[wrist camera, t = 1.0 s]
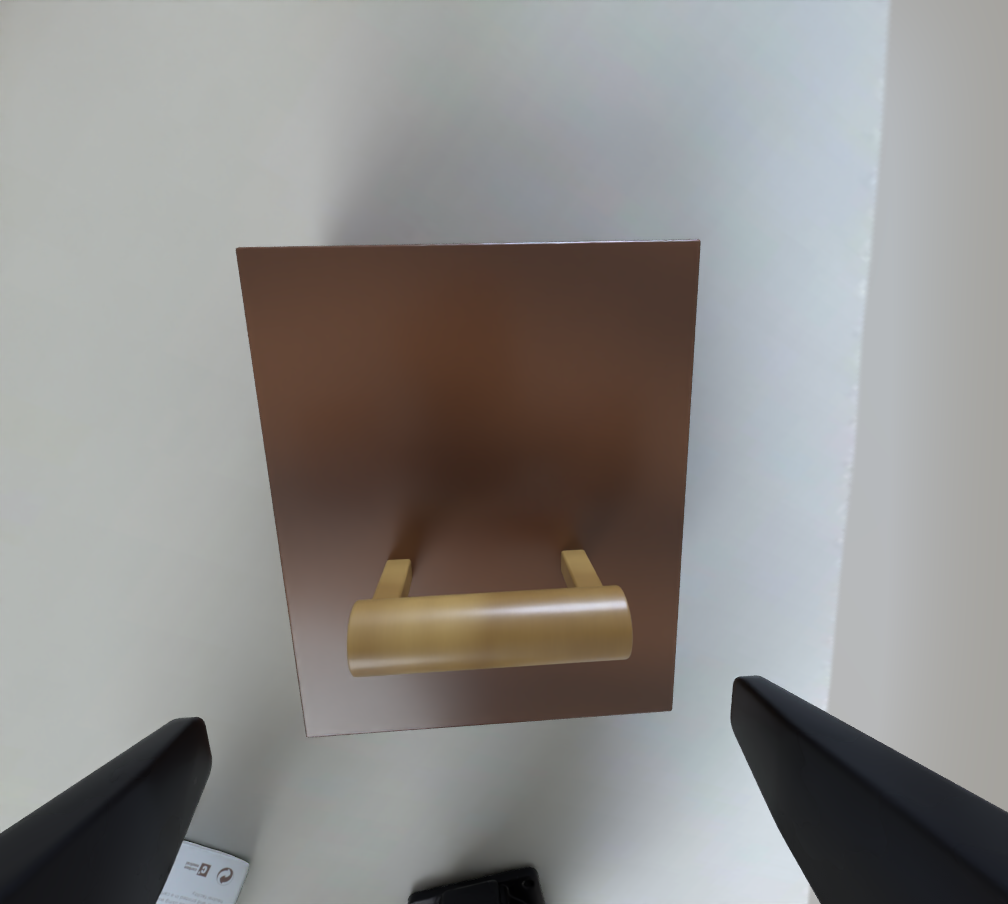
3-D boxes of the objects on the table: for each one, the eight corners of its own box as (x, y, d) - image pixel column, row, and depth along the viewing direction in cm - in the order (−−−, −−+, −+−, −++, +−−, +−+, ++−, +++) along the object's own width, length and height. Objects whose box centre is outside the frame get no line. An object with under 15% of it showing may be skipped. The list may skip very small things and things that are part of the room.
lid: (663, 694, 16) (739, 835, 12) (314, 719, 16) (246, 880, 11) (687, 244, 13) (807, 192, 8) (249, 252, 12) (115, 199, 8)
